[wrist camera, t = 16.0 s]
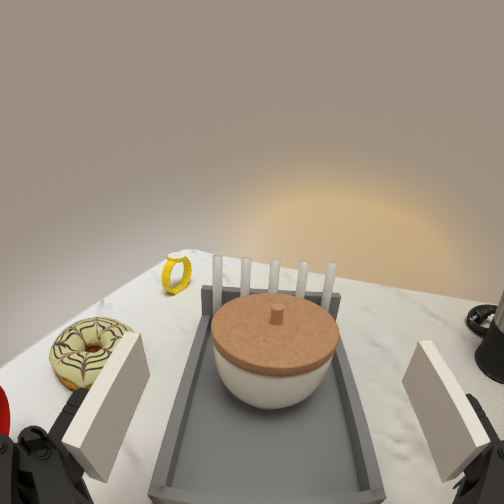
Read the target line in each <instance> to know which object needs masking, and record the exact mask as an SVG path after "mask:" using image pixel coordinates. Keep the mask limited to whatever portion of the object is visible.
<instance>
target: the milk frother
mask: <svg viewBox="0 0 504 504" xmlns="http://www.w3.org/2000/svg"><path fill="white" fill-rule="evenodd" d="M491 314H495V315H494V317H493V320H492V322H491V324H490V327H489V328H484V327H481V326H480V323H482V322H483V321H484V320H485V319H487V318H488V316H490V315H491ZM467 321H468V324H469V326H470V327H471V328H472V329H473V330H474V331H475V332H477V333H478V334H480V335H484V336H485V337H484V339H483V341H482V343H481V345H480V346H479V347H478V348H477V350H476V353H475V357H476V361H477V363H478V365H479V367H480V368H481V369H482V371H483V372H484V373H485V374H487V375H488V376H490V377H491V378H492V379H494V380H496V381H498V382H501V383H504V291H503V294H502V297H501V299H500V302H499V305H498V306H495V305H479V306H476V307H474V308H472V309H471V310H470V311H469V313H468V316H467Z"/></svg>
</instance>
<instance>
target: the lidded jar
mask: <svg viewBox="0 0 504 504" xmlns="http://www.w3.org/2000/svg"><path fill="white" fill-rule="evenodd" d="M211 338H212V341H213V353H214V359H215V364H216V367H217V370H218V373H219V376H220V378H221V380H222V381H223V383H224V385H225V386H226V387H227V389H228V390H229V391H230V392H231V393H232V394H233V395H235V396H236V397H237V398H238V399H240V400H241V401H243V402H245V403H247V404H249V405H251V406H254V407H256V408H260V409H266V410H274V409H280V408H285V407H290V406H292V405H295V404H297V403H299V402H301V401H303V400H304V399H306V398H307V397H308V396H310V395H311V394H312V393H313V392H314V391H315V390H316V389H317V388H318V386H319V385H320V384H321V382H322V381H323V379H324V377H325V375H326V373H327V371H328V369H329V367H330V364H331V361H332V358H333V355H334V352H335V350H336V348H337V345H338V341H339V329H338V326H337V323H336V322H335V320H334V319H333V317H332V316H331V315H330V314H329V313H328V312H327V311H326V310H324V309H323V308H322V307H320V306H318V305H317V304H315V303H313V302H311V301H308V300H305V299H303V298H299V297H296V296H291V295H286V294H278V293H259V294H251V295H246V296H242V297H239V298H236V299H234V300H231V301H229V302H228V303H226V304H224V305H223V306H222V307H221V308H219V310H218V311H217V312H216V313H215V315H214V316H213V318H212V322H211Z"/></svg>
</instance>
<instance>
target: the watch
mask: <svg viewBox="0 0 504 504" xmlns="http://www.w3.org/2000/svg"><path fill="white" fill-rule="evenodd" d="M167 259H168V261H167V262H166V264H165V265H164V268H163V272H162V285H163V287H164V289H165V291H168V292H170V293H173V294H175V295H176V294H177V293H178V292H180V291H181V290H183V289H184V288H186V287H187V285H188V283H189V281H190V277H191V271H192V270H191V263H190V261H189V259H188V258H187V257H186V256H185V254H184V253H180V252H174V253H170V254H168V256H167ZM179 262H183V265H184V272H183V278H182V280H181V282H180V284H179V285H177V286H176V287H174V288H173V289H172V288H171V286H170V274H171V271H172V268H173V266H174V265H175V263H179Z"/></svg>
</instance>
